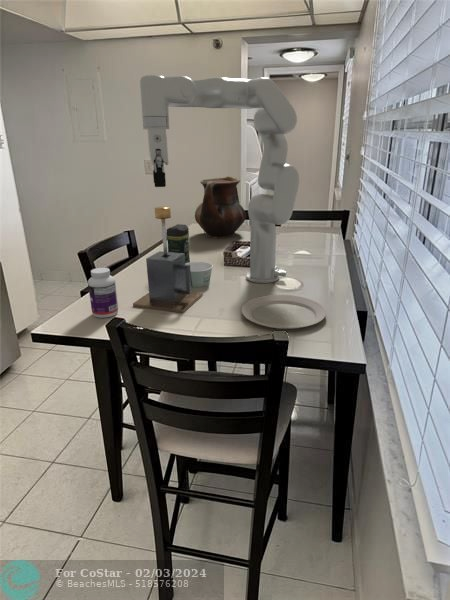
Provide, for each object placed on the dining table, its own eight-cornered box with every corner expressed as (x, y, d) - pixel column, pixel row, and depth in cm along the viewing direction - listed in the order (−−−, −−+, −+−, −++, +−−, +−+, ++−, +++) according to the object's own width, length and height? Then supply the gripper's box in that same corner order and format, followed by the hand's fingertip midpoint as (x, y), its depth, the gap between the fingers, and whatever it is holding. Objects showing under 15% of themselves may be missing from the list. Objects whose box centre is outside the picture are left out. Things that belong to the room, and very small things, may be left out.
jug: (201, 228, 249) (199, 175, 238) (248, 228, 246) (248, 175, 235) (189, 241, 220) (186, 181, 209) (242, 242, 216) (242, 181, 205)
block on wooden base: (202, 295, 147) (201, 251, 141) (183, 313, 133) (180, 265, 127) (156, 290, 152) (152, 247, 147) (133, 306, 138) (128, 260, 133)
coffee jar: (183, 274, 169) (181, 228, 162) (165, 272, 171) (162, 227, 164) (193, 267, 177) (191, 223, 170) (175, 266, 179) (173, 222, 173)
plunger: (179, 268, 140) (176, 206, 133) (171, 274, 135) (167, 210, 127) (162, 266, 142) (158, 205, 135) (153, 272, 137) (148, 209, 129)
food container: (206, 289, 152) (205, 272, 150) (176, 286, 156) (175, 269, 154) (218, 279, 163) (217, 263, 160) (189, 276, 167) (188, 260, 164)
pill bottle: (95, 309, 136) (89, 266, 131) (120, 308, 137) (115, 265, 132) (90, 319, 129) (83, 274, 124) (116, 318, 130) (111, 273, 124)
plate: (314, 299, 143) (315, 293, 142) (335, 332, 119) (336, 326, 118) (238, 301, 142) (238, 295, 141) (244, 335, 118) (244, 329, 117)
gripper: (171, 123, 115) (174, 188, 121) (167, 124, 131) (170, 181, 137) (142, 123, 114) (147, 188, 120) (142, 124, 129) (146, 182, 136)
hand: (159, 185), depth 128 cm, fingers open, 9 cm apart
